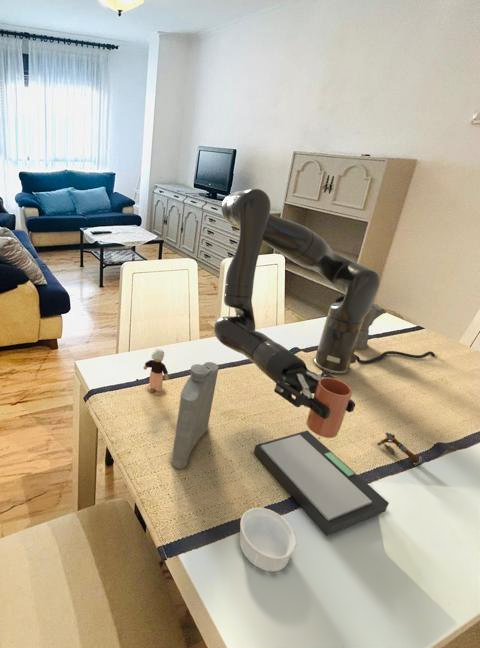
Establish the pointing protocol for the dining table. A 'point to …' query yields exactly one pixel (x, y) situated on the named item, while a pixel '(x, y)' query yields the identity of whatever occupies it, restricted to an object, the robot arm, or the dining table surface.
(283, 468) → the scale
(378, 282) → the robot arm
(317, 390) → the tumbler
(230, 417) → the dining table surface
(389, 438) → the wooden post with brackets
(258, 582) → the dining table surface
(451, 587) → the dining table surface
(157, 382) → the grandmother figurine
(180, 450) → the hip flask
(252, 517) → the ramekin
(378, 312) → the coffeepot
